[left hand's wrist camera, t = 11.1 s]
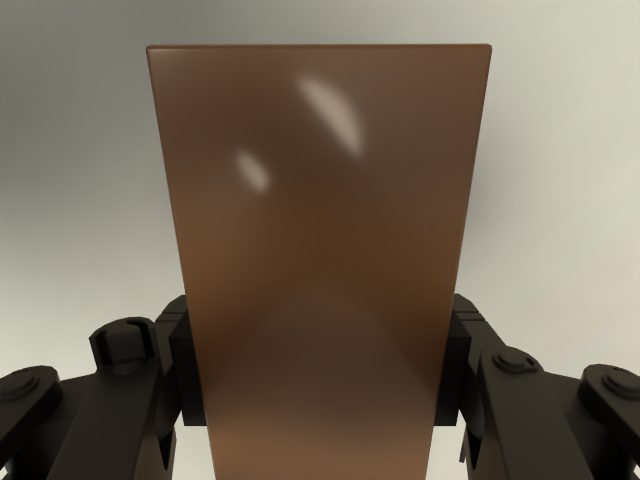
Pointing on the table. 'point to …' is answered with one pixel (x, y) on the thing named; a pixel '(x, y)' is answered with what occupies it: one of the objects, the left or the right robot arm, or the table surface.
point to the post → (319, 244)
